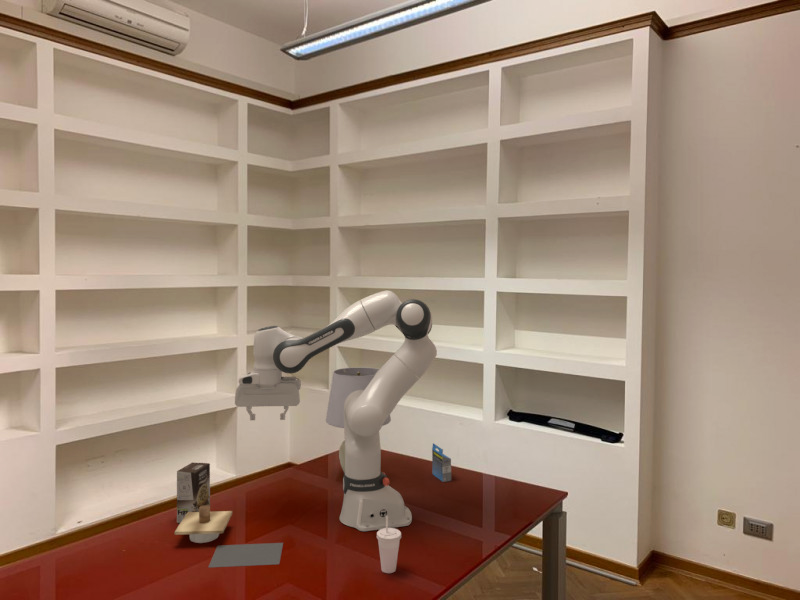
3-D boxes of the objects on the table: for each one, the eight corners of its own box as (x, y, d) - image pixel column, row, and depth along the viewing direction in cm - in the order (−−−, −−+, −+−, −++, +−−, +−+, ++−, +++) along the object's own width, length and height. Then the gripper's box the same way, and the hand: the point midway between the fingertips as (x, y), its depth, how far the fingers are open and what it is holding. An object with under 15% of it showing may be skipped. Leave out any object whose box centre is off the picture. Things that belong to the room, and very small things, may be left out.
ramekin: (182, 538, 167) (182, 523, 167) (210, 528, 174) (210, 514, 174) (198, 548, 161) (198, 533, 161) (226, 537, 168) (226, 523, 168)
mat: (283, 544, 164) (283, 542, 164) (279, 565, 152) (279, 564, 152) (217, 546, 162) (217, 545, 162) (208, 568, 150) (208, 567, 150)
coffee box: (195, 525, 176) (195, 472, 175) (176, 523, 177) (175, 471, 176) (211, 512, 185) (210, 462, 184) (192, 511, 186) (192, 461, 185)
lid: (232, 513, 174) (232, 497, 174) (222, 533, 161) (222, 516, 161) (187, 514, 173) (187, 498, 173) (174, 534, 160) (174, 517, 160)
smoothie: (375, 563, 154) (376, 511, 153) (400, 562, 154) (400, 511, 153) (376, 576, 147) (377, 522, 147) (402, 575, 148) (402, 521, 147)
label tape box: (451, 481, 214) (452, 448, 214) (441, 482, 213) (442, 449, 212) (440, 473, 223) (441, 441, 222) (431, 474, 221) (431, 442, 220)
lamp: (326, 468, 227) (326, 366, 225) (387, 466, 229) (388, 365, 227) (325, 491, 203) (325, 378, 201) (393, 489, 206) (394, 377, 204)
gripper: (301, 374, 190) (301, 416, 191) (237, 375, 188) (237, 417, 189) (300, 378, 184) (300, 421, 185) (233, 379, 182) (233, 422, 182)
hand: (267, 419), depth 187 cm, fingers open, 8 cm apart
